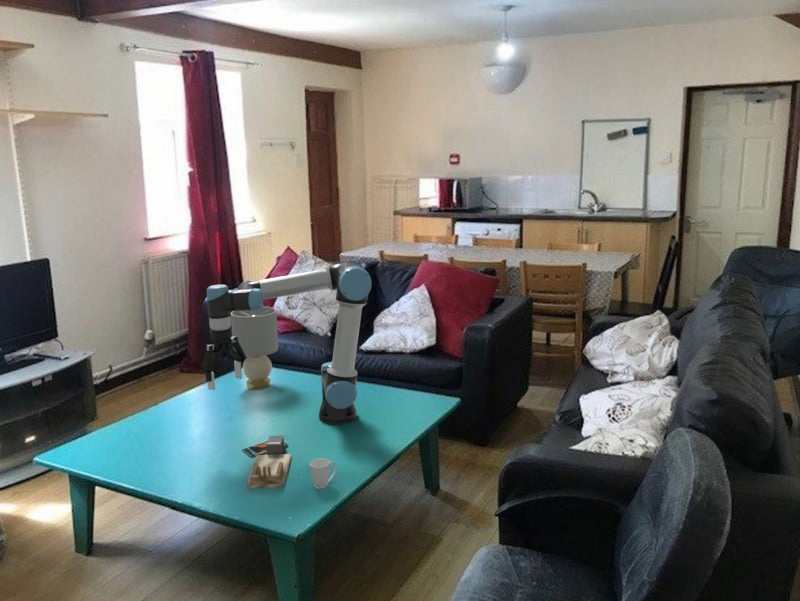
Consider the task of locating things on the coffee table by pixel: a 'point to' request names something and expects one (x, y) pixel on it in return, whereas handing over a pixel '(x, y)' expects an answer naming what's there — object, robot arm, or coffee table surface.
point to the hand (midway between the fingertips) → (225, 383)
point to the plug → (275, 445)
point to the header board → (269, 471)
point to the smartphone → (258, 449)
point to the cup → (321, 472)
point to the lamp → (256, 343)
